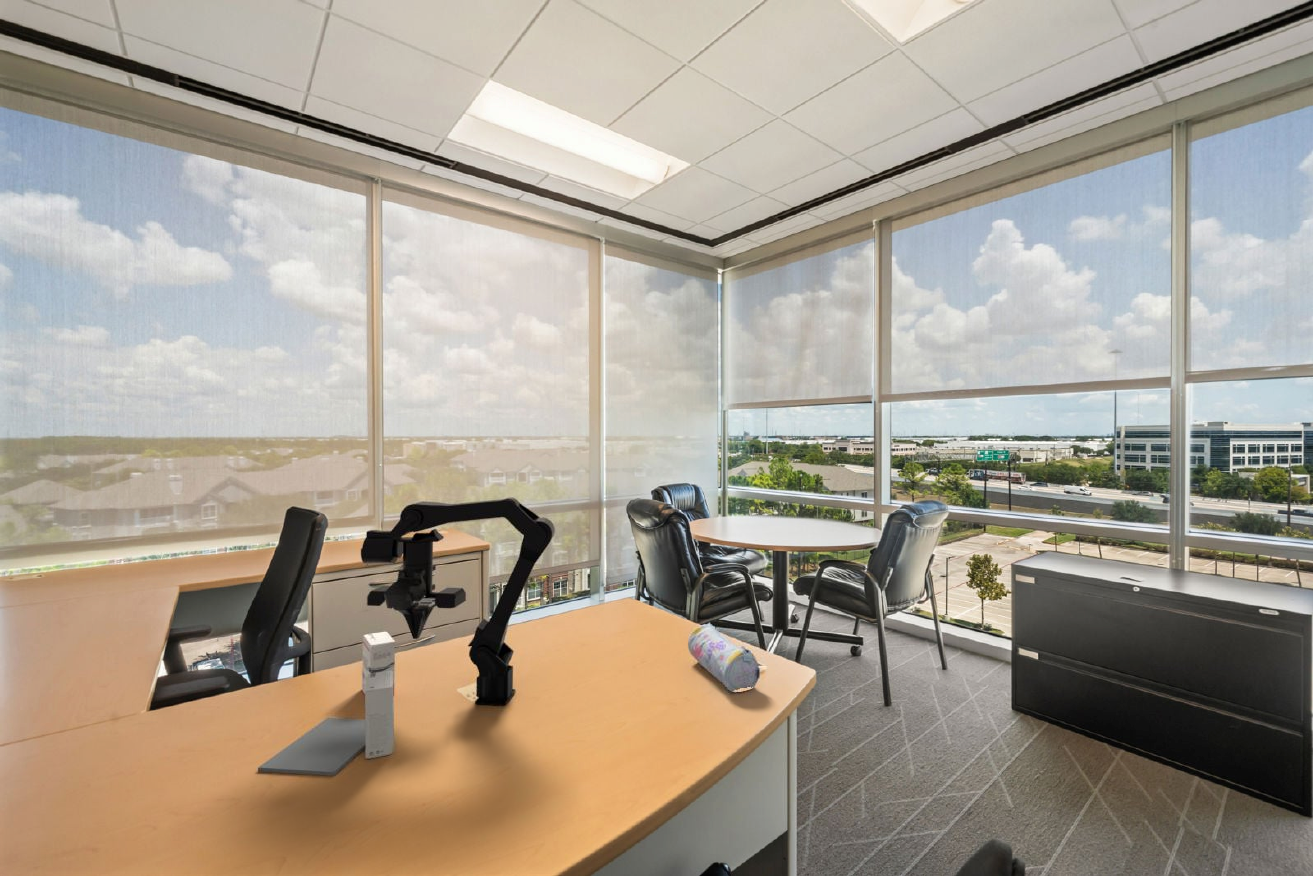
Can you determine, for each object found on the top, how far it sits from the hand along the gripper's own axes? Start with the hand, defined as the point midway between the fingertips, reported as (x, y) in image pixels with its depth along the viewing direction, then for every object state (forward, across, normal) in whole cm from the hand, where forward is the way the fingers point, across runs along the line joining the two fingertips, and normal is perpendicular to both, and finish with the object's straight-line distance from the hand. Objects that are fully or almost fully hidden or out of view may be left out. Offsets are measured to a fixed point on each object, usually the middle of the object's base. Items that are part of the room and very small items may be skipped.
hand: (416, 638), depth 109 cm
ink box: (+13, -10, +3) cm, 17 cm away
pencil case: (+13, +64, +19) cm, 68 cm away
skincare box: (+13, +3, -17) cm, 21 cm away
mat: (+13, -6, -17) cm, 22 cm away
